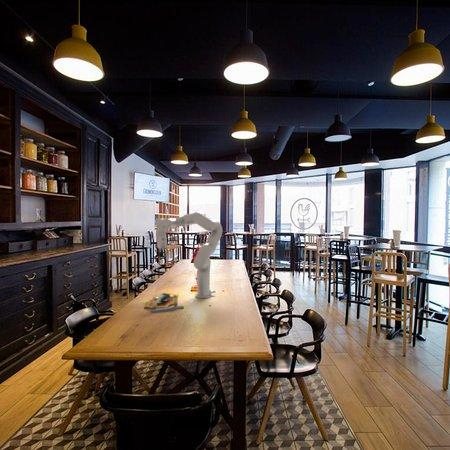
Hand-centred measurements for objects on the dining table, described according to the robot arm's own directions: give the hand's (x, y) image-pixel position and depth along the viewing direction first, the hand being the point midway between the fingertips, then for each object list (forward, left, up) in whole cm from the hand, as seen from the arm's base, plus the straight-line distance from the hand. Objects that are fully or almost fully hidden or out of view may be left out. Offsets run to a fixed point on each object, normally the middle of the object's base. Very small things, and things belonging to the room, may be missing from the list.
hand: (161, 257), depth 247 cm
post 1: (+17, +43, -29) cm, 54 cm away
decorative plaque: (+8, +28, -30) cm, 42 cm away
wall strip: (+10, +45, -29) cm, 55 cm away
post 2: (+3, +43, -29) cm, 52 cm away
